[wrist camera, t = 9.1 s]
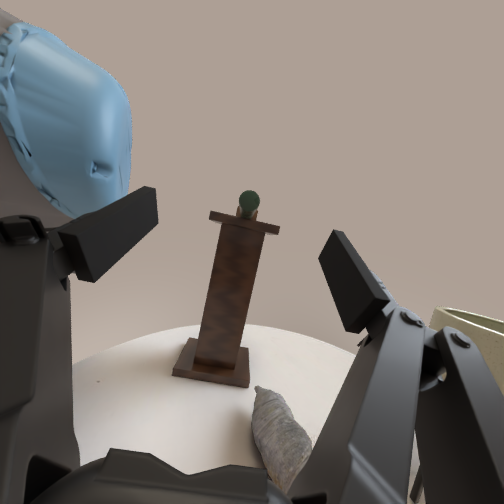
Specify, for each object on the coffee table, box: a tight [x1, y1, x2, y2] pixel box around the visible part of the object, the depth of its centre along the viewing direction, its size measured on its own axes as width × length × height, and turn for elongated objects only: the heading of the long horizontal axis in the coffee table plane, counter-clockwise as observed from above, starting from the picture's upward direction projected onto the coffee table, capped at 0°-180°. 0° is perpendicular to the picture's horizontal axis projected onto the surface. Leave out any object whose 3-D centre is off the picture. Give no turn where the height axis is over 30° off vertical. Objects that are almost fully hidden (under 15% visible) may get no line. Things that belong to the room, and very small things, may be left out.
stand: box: [172, 211, 280, 388], centre depth 38 cm, size 14×10×30 cm
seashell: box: [252, 386, 312, 495], centre depth 24 cm, size 6×14×8 cm, turn 23°
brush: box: [236, 190, 260, 221], centre depth 32 cm, size 21×4×4 cm, turn 3°
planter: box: [410, 306, 504, 503], centre depth 24 cm, size 15×16×23 cm
